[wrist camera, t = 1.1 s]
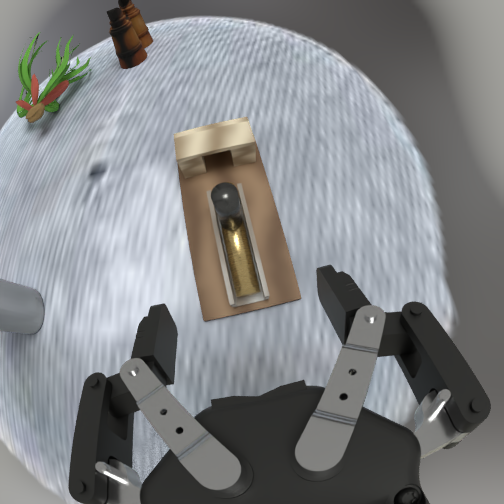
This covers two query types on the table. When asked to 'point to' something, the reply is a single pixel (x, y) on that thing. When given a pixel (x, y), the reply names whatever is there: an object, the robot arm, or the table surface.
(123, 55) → the binoculars
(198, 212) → the guide
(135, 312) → the table surface
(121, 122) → the table surface
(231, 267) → the brass sliding bolt
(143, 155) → the table surface
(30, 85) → the decorative plant
